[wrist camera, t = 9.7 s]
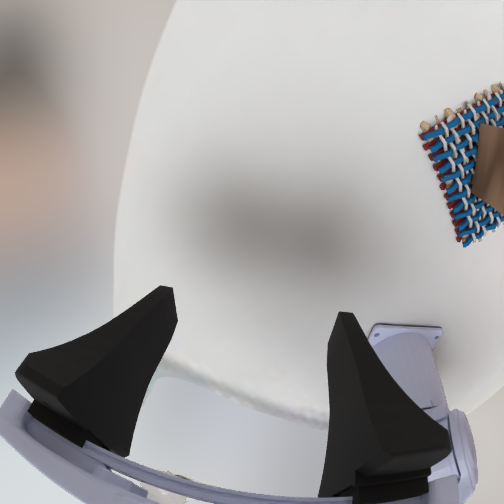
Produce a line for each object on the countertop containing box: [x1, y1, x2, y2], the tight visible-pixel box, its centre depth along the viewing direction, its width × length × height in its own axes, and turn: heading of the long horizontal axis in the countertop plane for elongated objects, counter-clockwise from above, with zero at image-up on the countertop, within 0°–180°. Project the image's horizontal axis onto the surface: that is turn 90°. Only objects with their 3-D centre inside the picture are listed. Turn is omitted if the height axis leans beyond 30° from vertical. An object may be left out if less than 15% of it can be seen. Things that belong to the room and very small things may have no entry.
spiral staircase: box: [140, 471, 187, 504], centre depth 70 cm, size 18×18×25 cm
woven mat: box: [420, 82, 504, 247], centre depth 14 cm, size 10×11×2 cm
